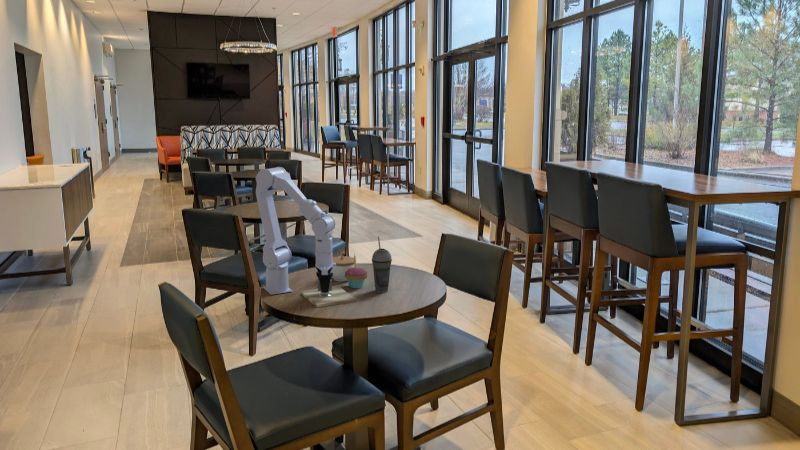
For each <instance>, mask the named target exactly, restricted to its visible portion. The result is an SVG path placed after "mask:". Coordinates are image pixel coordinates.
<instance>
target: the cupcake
mask: <svg viewBox="0 0 800 450" xmlns="http://www.w3.org/2000/svg"><path fill="white" fill-rule="evenodd" d="M353 254H354V256H353V258H354V268H350V269H348V270H347V271H346V272H345V278H346V279H347V281H346V282H347V283H348V286H349V288H350V289H360V288H361V289H362V287H363V285H364V282H365V280H366V279H368V271H366V270H365V268H362V267H358V266H357V256H356V255H355V253H353Z"/></svg>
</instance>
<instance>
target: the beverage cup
mask: <svg viewBox="0 0 800 450" xmlns="http://www.w3.org/2000/svg"><path fill="white" fill-rule="evenodd" d="M380 240H381V239H380V236H377V242H378V249H376V250H375V251H374V252H373V253H372V255H371V256H372V257H371V263H372V264H371V265H372V269H373V280H374V290H375V292H376V293H378V292H379V294H385V293H387V292H388V291H389V284H390V274H391V266H392V261H393V259H392V255H391V253H390V251H389V250H388V249H386V248H382V247H381V241H380Z"/></svg>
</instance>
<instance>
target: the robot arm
mask: <svg viewBox="0 0 800 450" xmlns="http://www.w3.org/2000/svg"><path fill="white" fill-rule="evenodd" d="M255 182H256V188H255V196H256V202H257V206H258V210H259V214H260V219H261V223H262V228H263V233H264V236H265V238H264V239H265V244H264V246H263V247H262V251H263V252H262V253H263V255H262V262H263V264H264V266H265V268H266V269H265V286H263V289H264V290H265V291H266V292H267V293H268V294H269V295H279V294H284V293H285V294H286V293H292V292H293V289H291V288H290V286H289V264H290V263H289V262H290V261H291V259H292V258H293V257H292V251H291V249H290V248H289V246H288V243H287V241H286V240H285V239H284V238H282V234H281V228H280V223H279V219H278V215H277V211H276V205H275V201H274V194H275V193H276V191H277V190H281V191H284V192H285V194H287V195H288V196H289V197H290V198H291V199H292V201H294V203H296V204H297V205H298V207H299V208H298V210H299V211H298V212H300V213H301V215H302V216H304V218H305V219H306V220H307V221H308V222H309V223H310V224H311V230H312V232H313V233H314V238H315V264H314V265H315V267H316V268H315V270H316V272H315V273H316V275H315V276H316V277H317V280H318V279H319V282H320V286H321V291H322V293H323V292H328V290H329V284H330V280H331V279H332V278H333V277H332V276H333V273H330V272H331V270H332V267H333V266H336V263H333V257H334V256H333V255H334V254H333V231H334V229H335V228H336V222H335V219H334V217H333V216H331V214H326V212H325V211H323V210H322V209H321V208H320V207H319V205H318V204H317V203H318V202H317V201H316V200H313V199H309V198H308V199H307V197H306V196H305V195H304V194H303V192H302V191H301V190H300V188H299V187H298V186H297V185H296V184H295V182H294V181H293V180H292V178H291V175H290V173H289V172H287V171H286V169H285V168H284V167H282V166H277V167H271V168H262V169H261V170H259V171H258V173H257V174H256V176H255Z"/></svg>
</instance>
